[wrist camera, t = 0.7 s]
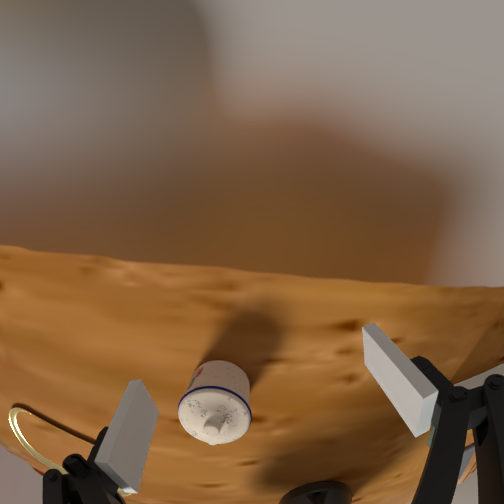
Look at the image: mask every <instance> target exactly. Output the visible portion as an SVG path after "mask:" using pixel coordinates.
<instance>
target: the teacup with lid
mask: <svg viewBox="0 0 504 504" xmlns="http://www.w3.org/2000/svg"><path fill="white" fill-rule="evenodd" d="M178 416H179V419H180V422H181V424H182V426H183V427H184V428H185V430H186V431H187V432H188V433H190V434H191V435H192V436H194V437H195V438H197V439H199V440H202V441H205V442H208V443H209V444H210V445H216V444H221V443H228V442H232V441H234V440H236V439H238V438H240V437H241V436H242V435H244V433H245V432H246V431H247V430H248V428H249V426H250V424H251V420H252V414H251V410H250V384H249V380H248V377H247V375H246V374H245V372H244V371H243V370H242V369H241V368H240V367H238V366H237V365H235V364H233V363H231V362H227V361H222V360H214V361H209V362H206V363H204V364H202V365H201V366H199V367H198V368H197V369H196V370H195V372H194V374H193V376H192V378H191V381H190V383H189V386H188V388H187V391H186V393H185V395H184V396H183V397H182V399H181V400H180V403H179V406H178Z"/></svg>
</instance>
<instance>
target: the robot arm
mask: <svg viewBox="0 0 504 504" xmlns="http://www.w3.org/2000/svg"><path fill="white" fill-rule="evenodd" d="M362 331H363V344H364V359H365V365H366V366H367V368H368V369H369V371H370V372H371V374H372V375H373V376H374V378H375V379H376V381H377V382H378V384H379V385H380V386H381V388H382V389H383V391H384V392H385V394H386V395H387V397H388V398H389V400H390V401H391V402H392V404H393V405H394V407H395V408H396V410H397V411H398V413H399V414H400V416H401V417H402V419H403V420H404V422H405V423H406V424H407V426H408V427H409V429H410V430H411V432H412V433H413V435H414V436H415V438H416V437H417V436H419V435H421V434H423V433H425V432H427V431H429V429H430V425H431V423H432V425H433V426H434V427H435V430H434V434H433V437H432V442H431V446H430V450H429V453H428V457H427V460H426V464H425V467H424V470H423V473H422V476H421V479H420V482H419V485H418V487H417V490H416V493H415V495H414V498H413V500H412V503H411V504H451V502H452V499H453V496H454V492H455V489H456V485H457V481H458V477H459V473H460V468H461V464H462V459H463V453H464V448H465V442H466V435H467V430H469V429H472V431H473V437H474V445H475V453H476V462H477V475H478V496H479V497H478V501H479V502H478V503H479V504H504V376H503V375H500V374H492V375H490V376H488V377H487V378H486V379H485V381H484V384H483V385H482V386H479V387H476V388H473V389H467V388H465V387H463V386H454V385H453V384H452V383H451V382H450V381H449V380H448V379H447V378H446V377H445V376H444V375H443V374H442V373H441V372H440V371H439V370H437V368H436V367H435V366H433V364H432V363H431V362H430V361H429V360H428V359H426V358H423V357H421V356H417V357H415V358H413V359H411V360H410V359H409V358H408V357H407V356H406V355H405V354H404V353H403V352H402V351H401V350H400V349H399V348H398V347H397V346H396V345H395V344H394V343H393V342H392V341H391V340H390V339H389V338H388V336H387V335H386V334H385V333H384V332H383V331H382V330H381V329H380V328H379V327H378V326H377V325H376V324H375V323H372V324H369V325H366V326H363V327H362ZM158 414H159V410H158V408H157V407H156V405H155V403H154V402H153V400H152V398H151V396H150V395H149V393H148V391H147V389H146V388H145V386H144V384H143V382H142V380H141V379H139V380H130V382H129V384H128V386H127V389H126V391H125V393H124V395H123V397H122V399H121V401H120V404H119V406H118V408H117V410H116V412H115V415H114V417H113V419H112V421H111V423H110V426H109V427H104V428H103V429H102V430H101V432H100V433H99V435H98V437H97V439H96V440H97V441H95V443H94V446H93V448H92V450H91V452H90V455H89V457H88V459H87V461H86V460H85V459H84V458H83V457H82V456H81V455H80V454H71V455H69V456H67V457H66V458H65V460H64V461H63V464H62V466H63V468H64V469H65V470H66V471H67V472H68V473H69V474H62V473H61V472H60V471H59V470H58V469H50V470H48V471H47V472H46V473H45V474H44V476H43V504H126V503H125V501H124V499H123V498H122V496H121V495H120V494H119V493H118V492H117V491H118V488H119V487H120V488H121V489H122V490H123V491H124V492H127V493H138V490H139V486H140V482H141V478H142V474H143V470H144V466H145V462H146V458H147V455H148V451H149V447H150V443H151V440H152V436H153V432H154V429H155V425H156V422H157V418H158ZM351 501H352V496H351V493H350V490H349V488H348V487H347V486H346V485H344V484H342V483H339V482H331V481H327V482H317V483H312V484H308V485H305V486H302V487H299V488H297V489H295V490H293V491H291V492H289V493H288V494H286V495H285V496H284V497H283V498H282V499H281V501H280V503H279V504H351Z"/></svg>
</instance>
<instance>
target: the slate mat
mask: <svg viewBox="0 0 504 504" xmlns="http://www.w3.org/2000/svg"><path fill="white" fill-rule="evenodd" d="M474 450H475V445H474V444H472V445H470V446H469V447H467V448H465V449H464V453H463V459H462V464H461V468H460V473H459V477H458V479H460V477H461V475H462V474H463V472H464V470H465V468H466V466H467V464H468V462H469V460H470V459H471V457H472V455H473V452H474Z"/></svg>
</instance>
